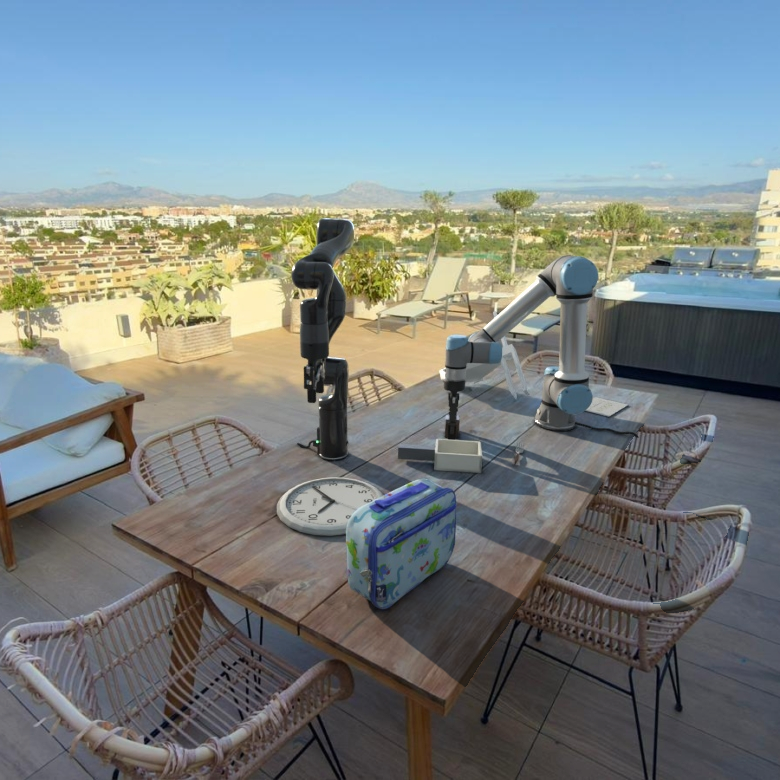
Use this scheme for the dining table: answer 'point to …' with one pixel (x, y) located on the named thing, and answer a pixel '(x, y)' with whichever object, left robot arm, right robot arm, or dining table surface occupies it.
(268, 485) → the dining table surface
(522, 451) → the fork
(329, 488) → the wall clock
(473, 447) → the bin
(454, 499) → the lunch box
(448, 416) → the walnut block
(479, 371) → the white plastic object
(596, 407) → the invitation card
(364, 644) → the dining table surface
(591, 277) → the right robot arm
